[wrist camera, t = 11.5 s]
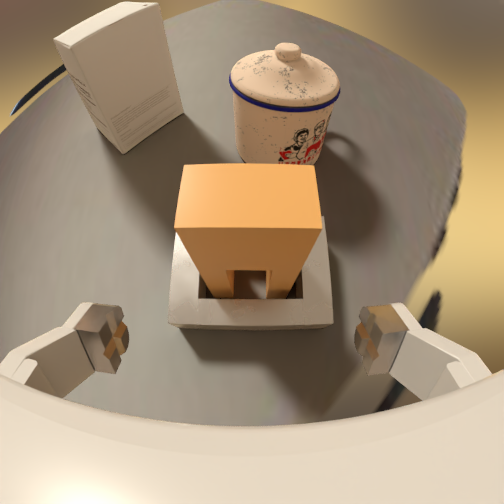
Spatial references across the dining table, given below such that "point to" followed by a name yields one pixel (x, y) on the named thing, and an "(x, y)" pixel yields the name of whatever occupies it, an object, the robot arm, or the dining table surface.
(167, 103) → the supplement box
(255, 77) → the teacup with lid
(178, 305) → the rectangular frame block
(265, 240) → the orange notched arch block
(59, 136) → the dining table surface
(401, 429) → the robot arm
